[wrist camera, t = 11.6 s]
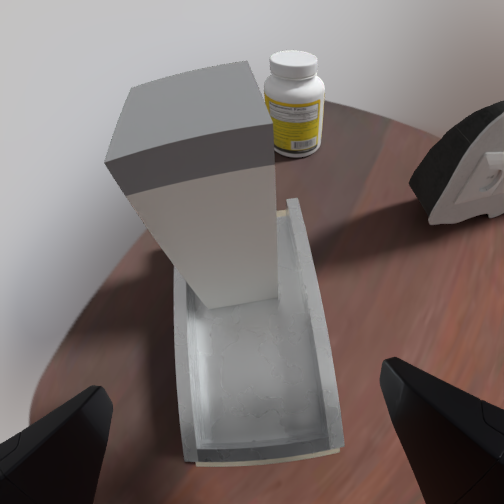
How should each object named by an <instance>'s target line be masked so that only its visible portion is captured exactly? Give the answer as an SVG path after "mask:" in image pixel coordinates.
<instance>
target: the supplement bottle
mask: <svg viewBox="0 0 504 504" xmlns="http://www.w3.org/2000/svg"><path fill="white" fill-rule="evenodd" d="M317 69H318V60H317V58H316V57H315V56H314V55H313V54H310V53H307V52H303V51H295V50H294V51H291V50H289V51H281V52H278V53H275V54H273V55H271V56H270V70H271V74H272V75H270V76H269V77H268V78H267V79H266V81H265V83H264V94H265V104H266V107H267V109H268V112H269V114H270V117H271V119H272V122H273V133H274V150H275V151H276V152H277V153H279V154H281V155H284V156H288V157H305V156H308V155H311V154H313V153H314V152H315V151H316V150H317V149H318V148H319V146H320V143H321V136H322V124H323V110H324V96H325V87H324V83H323V81H322V80H321V79H320V78H319V77H318V76H316V75H317Z"/></svg>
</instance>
